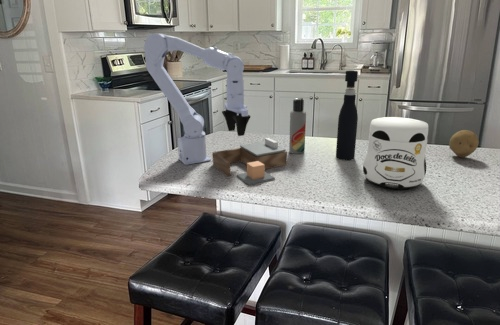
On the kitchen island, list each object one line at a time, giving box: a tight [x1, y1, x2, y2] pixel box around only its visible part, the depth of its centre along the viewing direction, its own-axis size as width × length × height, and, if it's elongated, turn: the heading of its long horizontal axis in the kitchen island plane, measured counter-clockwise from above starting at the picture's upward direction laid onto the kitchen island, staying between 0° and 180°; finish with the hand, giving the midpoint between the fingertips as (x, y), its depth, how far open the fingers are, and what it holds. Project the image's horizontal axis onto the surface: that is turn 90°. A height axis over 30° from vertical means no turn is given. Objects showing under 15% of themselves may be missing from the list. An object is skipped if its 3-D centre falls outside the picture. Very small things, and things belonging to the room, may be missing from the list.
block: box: [246, 161, 266, 179], centre depth 114 cm, size 4×4×4 cm
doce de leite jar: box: [362, 116, 429, 190], centre depth 107 cm, size 17×17×18 cm
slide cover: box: [239, 137, 287, 156], centre depth 126 cm, size 11×12×3 cm
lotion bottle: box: [288, 97, 307, 155], centre depth 135 cm, size 6×6×20 cm
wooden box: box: [211, 147, 288, 177], centre depth 125 cm, size 22×12×4 cm, turn 118°
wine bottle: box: [335, 70, 359, 161], centre depth 127 cm, size 6×6×30 cm
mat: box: [236, 171, 276, 186], centre depth 114 cm, size 9×8×1 cm
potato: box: [448, 129, 480, 159], centre depth 129 cm, size 9×9×10 cm
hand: (236, 132), depth 129 cm, fingers open, 7 cm apart
